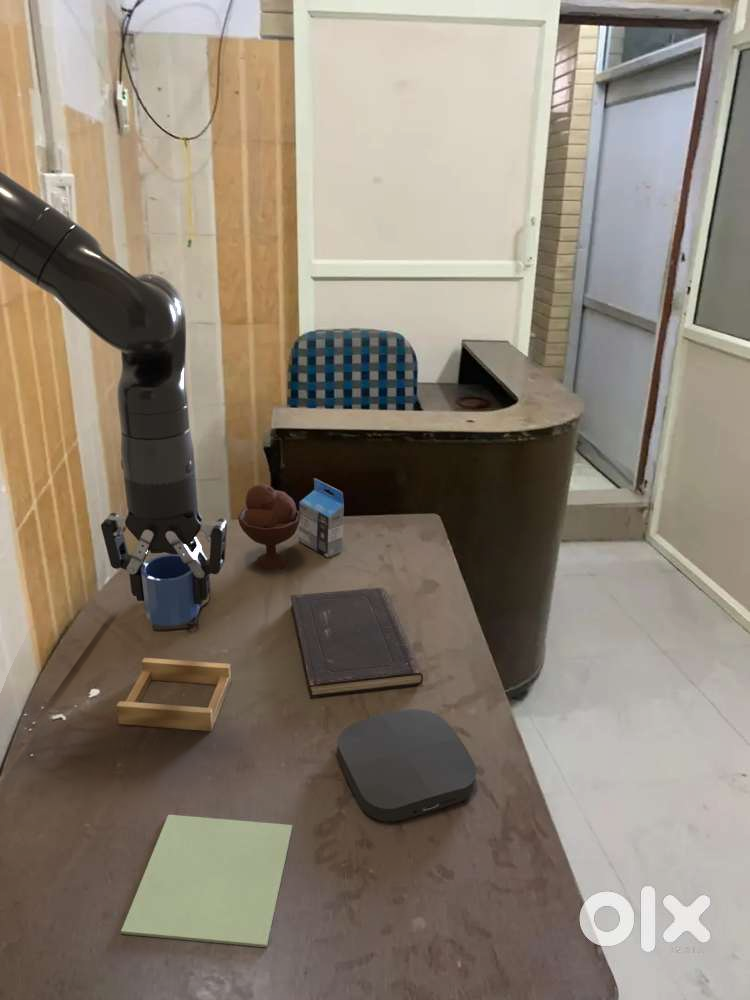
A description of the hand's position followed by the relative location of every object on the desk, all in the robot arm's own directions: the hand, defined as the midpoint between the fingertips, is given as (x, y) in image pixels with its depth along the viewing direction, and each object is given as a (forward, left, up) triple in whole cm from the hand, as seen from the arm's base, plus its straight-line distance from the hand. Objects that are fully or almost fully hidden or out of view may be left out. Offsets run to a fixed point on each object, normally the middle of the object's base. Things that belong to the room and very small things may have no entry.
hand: (171, 598), depth 89 cm
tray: (-3, +5, -20) cm, 20 cm away
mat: (+10, -21, -20) cm, 30 cm away
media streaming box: (+28, -4, -20) cm, 35 cm away
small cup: (0, 0, -2) cm, 2 cm away
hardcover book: (+19, +21, -20) cm, 35 cm away
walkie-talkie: (-9, +30, -20) cm, 37 cm away
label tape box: (+10, +51, -20) cm, 56 cm away
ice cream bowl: (+3, +44, -20) cm, 48 cm away
